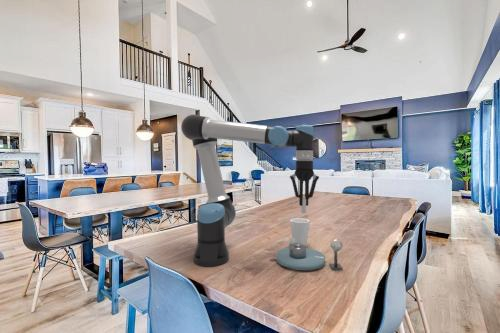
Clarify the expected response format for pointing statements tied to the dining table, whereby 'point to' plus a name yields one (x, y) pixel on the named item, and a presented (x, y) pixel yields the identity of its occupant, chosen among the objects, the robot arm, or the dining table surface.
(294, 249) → the cover
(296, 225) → the foam cup
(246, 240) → the dining table surface
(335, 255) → the dial stand
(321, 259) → the turntable
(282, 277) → the dining table surface
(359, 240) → the dining table surface
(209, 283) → the dining table surface
